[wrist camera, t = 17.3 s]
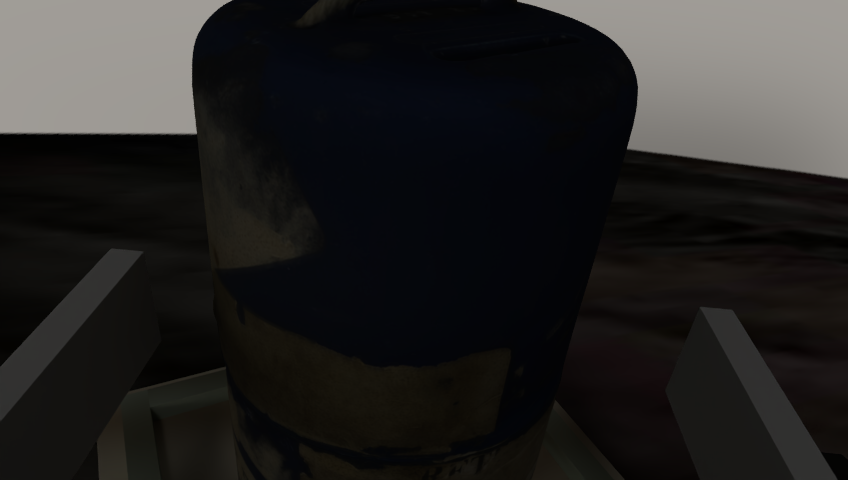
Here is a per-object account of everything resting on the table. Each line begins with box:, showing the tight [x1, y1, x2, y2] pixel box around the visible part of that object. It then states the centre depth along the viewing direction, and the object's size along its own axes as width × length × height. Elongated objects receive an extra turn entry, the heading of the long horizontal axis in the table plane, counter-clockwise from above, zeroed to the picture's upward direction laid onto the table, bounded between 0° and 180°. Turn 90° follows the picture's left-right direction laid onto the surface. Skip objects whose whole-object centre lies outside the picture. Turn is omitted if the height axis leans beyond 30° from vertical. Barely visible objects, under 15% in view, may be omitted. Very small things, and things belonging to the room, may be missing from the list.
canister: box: [192, 0, 638, 480], centre depth 17 cm, size 10×10×18 cm
